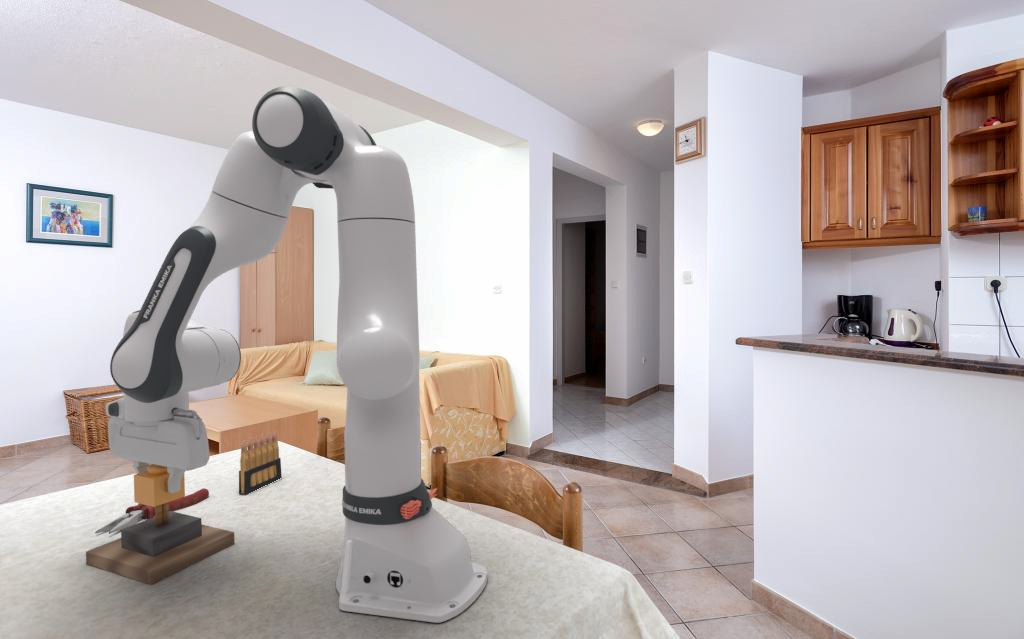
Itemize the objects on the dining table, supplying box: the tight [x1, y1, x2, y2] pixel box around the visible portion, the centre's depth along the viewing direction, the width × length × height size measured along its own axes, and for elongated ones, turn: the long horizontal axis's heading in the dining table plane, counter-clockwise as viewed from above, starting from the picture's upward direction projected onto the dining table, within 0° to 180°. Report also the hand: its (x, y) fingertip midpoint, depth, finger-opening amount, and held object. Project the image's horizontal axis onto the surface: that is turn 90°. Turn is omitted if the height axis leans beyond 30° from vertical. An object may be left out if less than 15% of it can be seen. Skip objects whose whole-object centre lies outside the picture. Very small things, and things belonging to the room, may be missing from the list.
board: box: [85, 502, 235, 585], centre depth 86 cm, size 16×14×10 cm
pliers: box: [94, 488, 210, 535], centre depth 103 cm, size 12×20×3 cm, turn 172°
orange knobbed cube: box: [133, 464, 186, 507], centre depth 86 cm, size 5×5×6 cm
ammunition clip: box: [238, 428, 283, 496], centre depth 117 cm, size 11×2×12 cm, turn 161°
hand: (159, 489), depth 86 cm, fingers closed on orange knobbed cube, 5 cm apart
